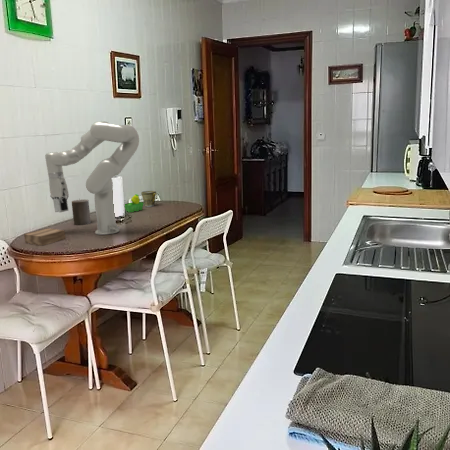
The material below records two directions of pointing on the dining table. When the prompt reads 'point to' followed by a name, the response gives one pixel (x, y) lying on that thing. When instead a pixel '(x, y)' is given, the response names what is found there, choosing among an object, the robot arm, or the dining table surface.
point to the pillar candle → (81, 212)
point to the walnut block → (44, 236)
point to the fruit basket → (134, 204)
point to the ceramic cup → (149, 198)
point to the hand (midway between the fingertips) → (61, 209)
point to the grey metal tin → (58, 205)
